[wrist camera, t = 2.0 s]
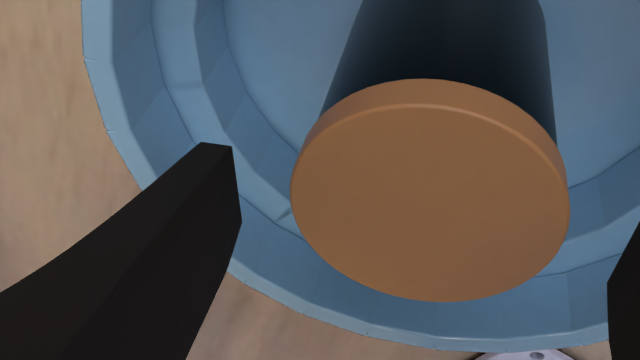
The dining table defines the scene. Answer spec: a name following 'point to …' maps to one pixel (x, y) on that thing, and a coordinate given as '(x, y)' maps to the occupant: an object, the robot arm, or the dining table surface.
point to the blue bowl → (303, 111)
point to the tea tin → (437, 152)
